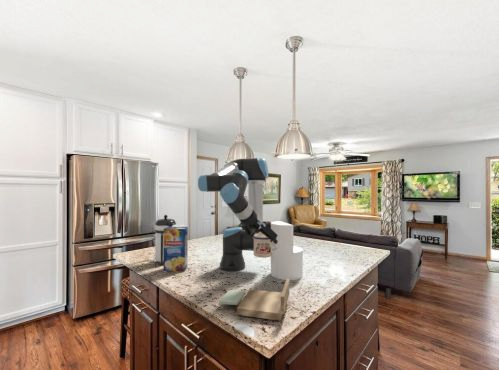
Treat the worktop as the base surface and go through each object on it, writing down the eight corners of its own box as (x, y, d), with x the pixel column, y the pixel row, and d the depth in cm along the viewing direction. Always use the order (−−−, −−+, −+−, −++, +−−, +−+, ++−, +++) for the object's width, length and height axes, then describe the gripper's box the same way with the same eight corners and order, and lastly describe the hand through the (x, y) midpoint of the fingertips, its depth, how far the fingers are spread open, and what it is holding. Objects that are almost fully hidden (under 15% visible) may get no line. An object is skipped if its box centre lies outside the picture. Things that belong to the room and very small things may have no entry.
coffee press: (181, 258, 166) (182, 213, 167) (171, 266, 150) (172, 216, 151) (156, 258, 168) (157, 213, 168) (144, 265, 152) (144, 215, 153)
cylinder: (277, 281, 126) (277, 225, 126) (266, 270, 142) (266, 221, 143) (308, 278, 130) (308, 224, 131) (294, 268, 147) (294, 220, 148)
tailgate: (245, 291, 105) (228, 290, 107) (237, 302, 95) (218, 301, 97) (245, 294, 105) (228, 294, 107) (237, 306, 95) (219, 305, 96)
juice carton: (163, 271, 140) (163, 228, 141) (167, 267, 148) (167, 226, 148) (184, 271, 141) (185, 228, 141) (187, 267, 148) (187, 226, 149)
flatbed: (289, 300, 104) (289, 278, 104) (284, 322, 86) (284, 296, 87) (249, 296, 108) (249, 275, 108) (236, 316, 91) (236, 291, 91)
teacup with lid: (253, 257, 111) (253, 231, 111) (252, 252, 120) (252, 228, 120) (280, 258, 111) (280, 231, 111) (277, 253, 120) (277, 228, 121)
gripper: (224, 218, 113) (248, 247, 124) (260, 223, 97) (285, 256, 108) (233, 206, 117) (256, 235, 128) (269, 208, 101) (292, 242, 112)
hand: (269, 245), depth 118 cm, fingers closed on teacup with lid, 10 cm apart
